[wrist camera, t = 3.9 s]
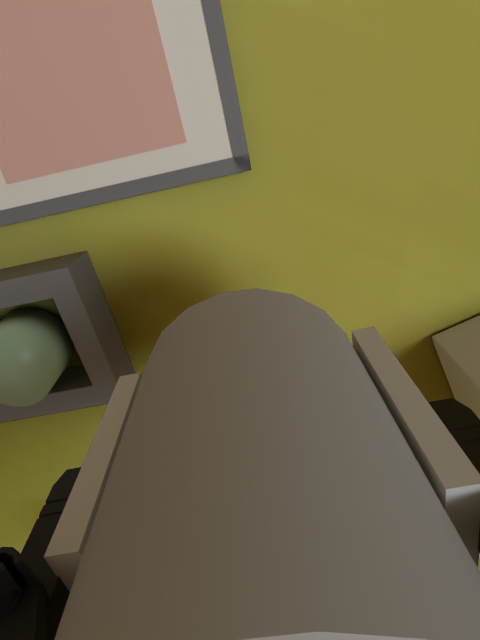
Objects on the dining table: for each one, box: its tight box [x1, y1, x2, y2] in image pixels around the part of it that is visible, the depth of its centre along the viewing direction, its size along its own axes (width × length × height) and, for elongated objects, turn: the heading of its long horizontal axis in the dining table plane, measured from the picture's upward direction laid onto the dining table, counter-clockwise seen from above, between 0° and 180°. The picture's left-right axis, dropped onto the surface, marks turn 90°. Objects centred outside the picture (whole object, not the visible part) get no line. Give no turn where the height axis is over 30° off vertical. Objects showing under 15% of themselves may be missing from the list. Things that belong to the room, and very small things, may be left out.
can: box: [54, 288, 480, 640], centre depth 10 cm, size 8×8×12 cm
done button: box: [0, 308, 74, 407], centre depth 23 cm, size 5×5×3 cm
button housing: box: [0, 251, 135, 423], centre depth 25 cm, size 9×9×3 cm
